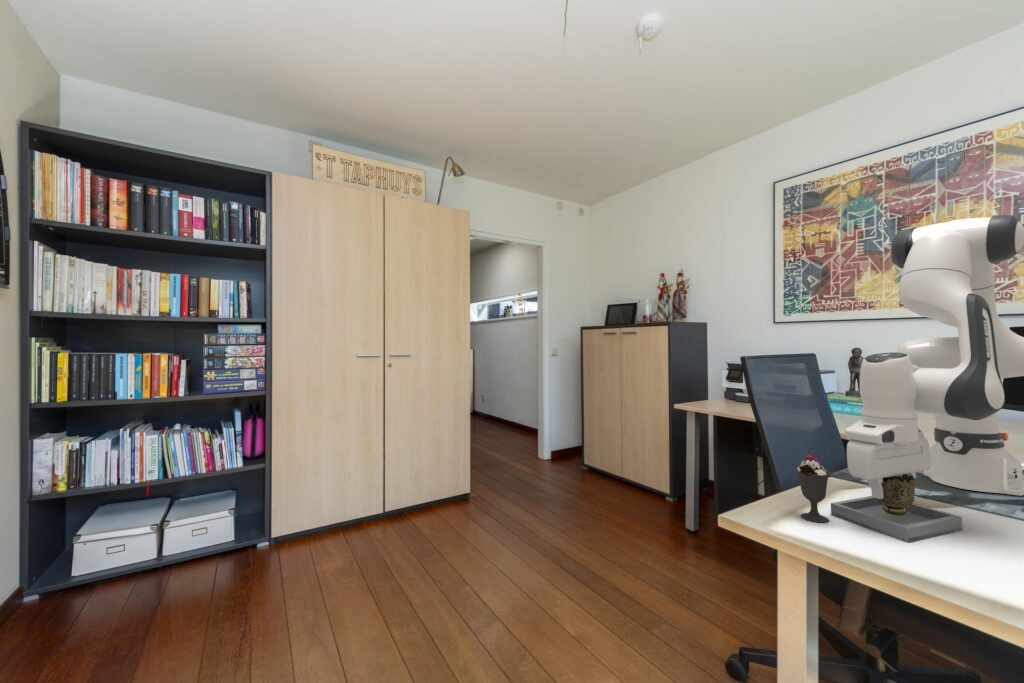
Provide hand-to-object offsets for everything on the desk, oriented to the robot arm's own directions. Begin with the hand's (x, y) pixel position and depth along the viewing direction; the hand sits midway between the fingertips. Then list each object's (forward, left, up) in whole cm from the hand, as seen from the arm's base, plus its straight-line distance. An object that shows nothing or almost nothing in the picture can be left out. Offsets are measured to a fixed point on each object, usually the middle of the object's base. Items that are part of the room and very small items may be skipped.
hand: (892, 495), depth 86 cm
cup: (0, 0, -4) cm, 4 cm away
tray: (0, 0, -6) cm, 6 cm away
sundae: (+13, -7, -6) cm, 16 cm away
